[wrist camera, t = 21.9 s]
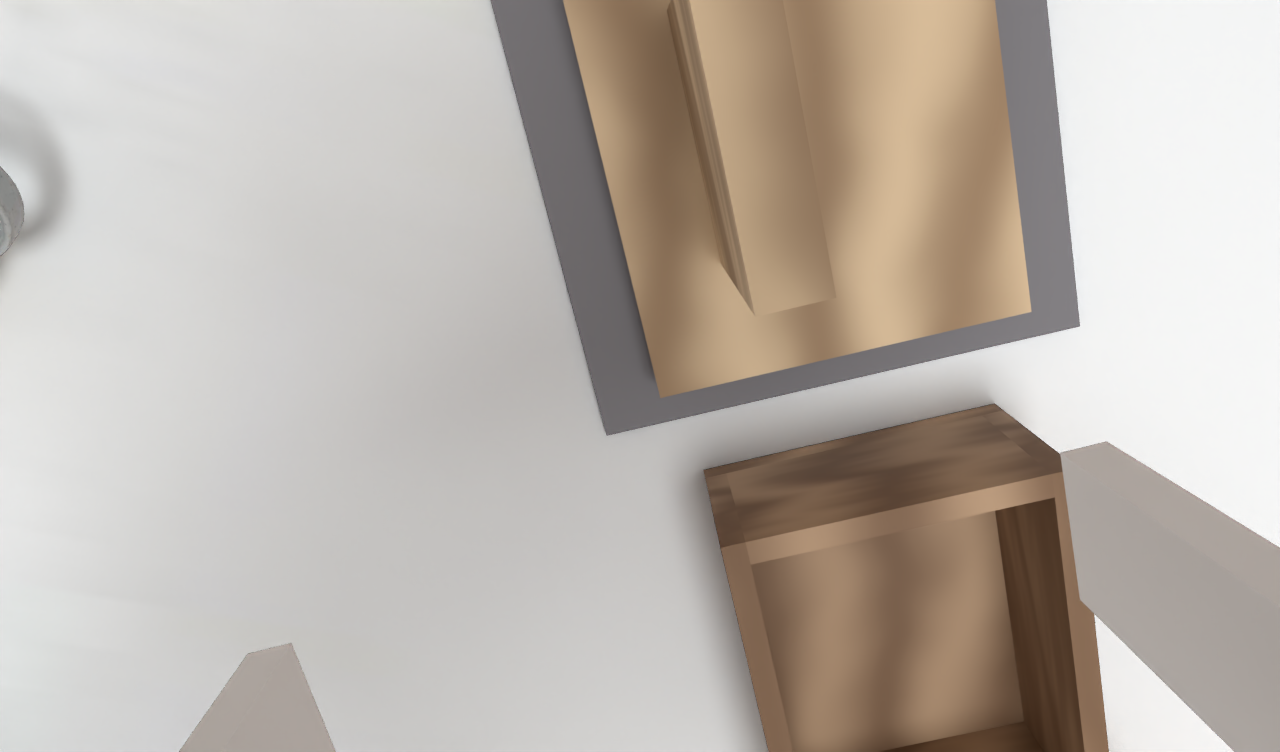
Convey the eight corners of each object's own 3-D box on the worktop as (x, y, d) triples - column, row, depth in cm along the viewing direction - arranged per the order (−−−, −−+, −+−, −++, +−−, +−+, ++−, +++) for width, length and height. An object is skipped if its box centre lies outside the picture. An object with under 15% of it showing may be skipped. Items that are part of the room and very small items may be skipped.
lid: (658, 381, 40) (671, 492, 28) (543, -91, 35) (498, -202, 23) (1007, 300, 40) (1172, 378, 28) (944, -197, 34) (1117, -369, 22)
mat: (606, 431, 42) (606, 435, 41) (459, -124, 35) (456, -128, 35) (1073, 323, 41) (1080, 326, 40) (1011, -271, 34) (1018, -278, 33)
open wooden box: (802, 891, 49) (843, 1068, 40) (703, 470, 42) (724, 568, 33) (1084, 834, 49) (1192, 1002, 39) (1031, 395, 41) (1147, 474, 32)
